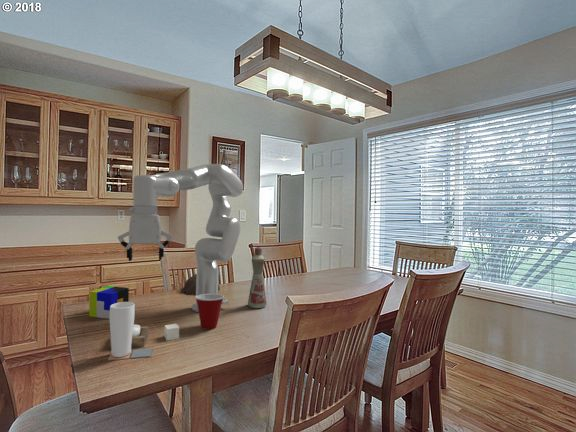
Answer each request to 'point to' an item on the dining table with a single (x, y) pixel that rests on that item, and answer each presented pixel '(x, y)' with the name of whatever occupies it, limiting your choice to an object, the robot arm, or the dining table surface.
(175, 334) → the white cube
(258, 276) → the bottle
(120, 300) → the puzzle toy
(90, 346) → the dining table surface
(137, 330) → the dome button
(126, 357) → the pad
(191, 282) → the decorative dome
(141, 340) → the button frame
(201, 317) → the plastic cup
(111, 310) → the drinking glass
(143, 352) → the pad mid
